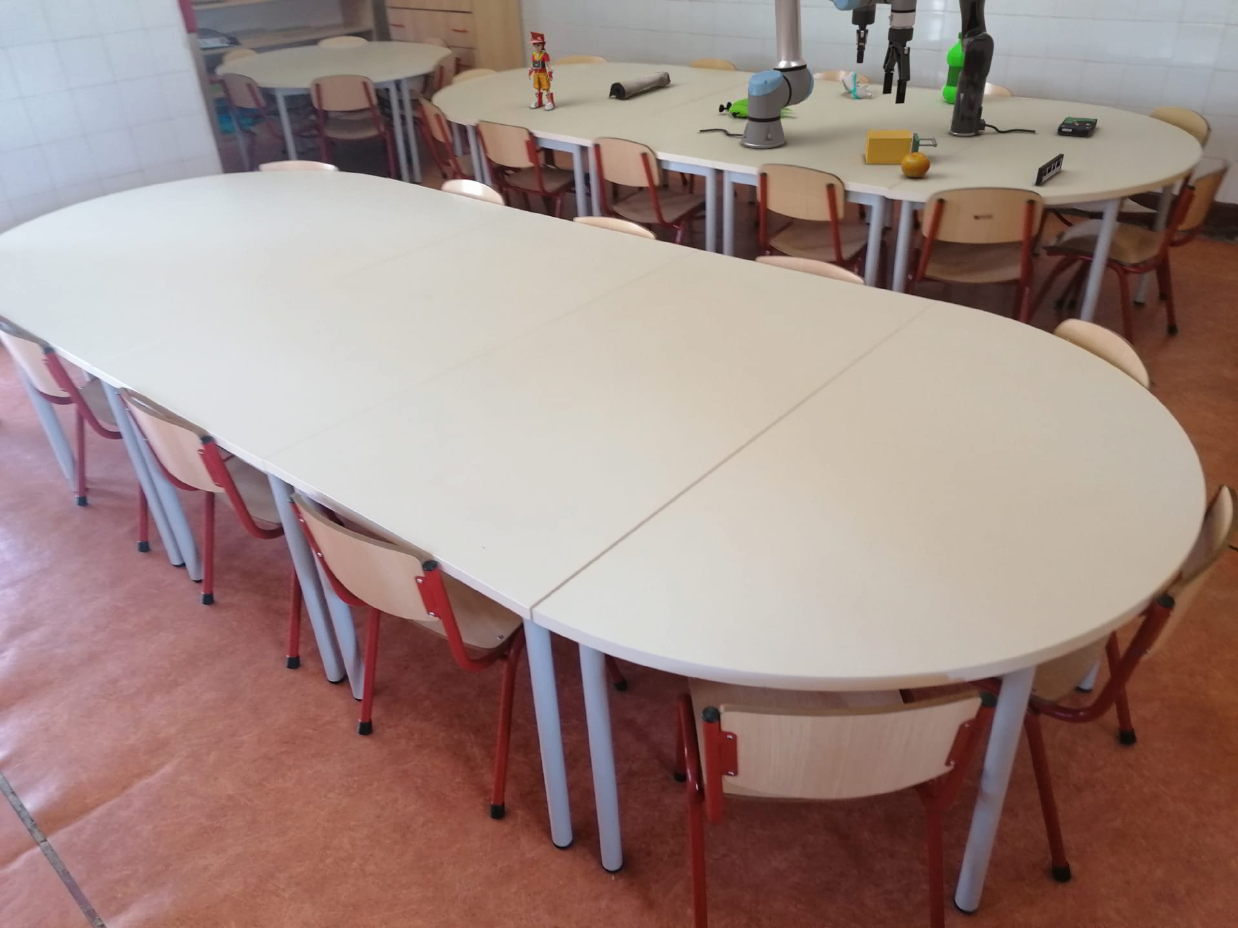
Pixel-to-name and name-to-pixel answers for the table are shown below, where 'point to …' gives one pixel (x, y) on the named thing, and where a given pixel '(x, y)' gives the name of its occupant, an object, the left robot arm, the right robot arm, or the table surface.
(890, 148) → the cabinet
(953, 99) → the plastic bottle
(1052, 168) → the midi keyboard
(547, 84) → the toy
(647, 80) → the rolled mat
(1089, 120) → the disk drive
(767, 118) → the left robot arm
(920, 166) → the fruit
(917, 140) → the drawer
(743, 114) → the toy
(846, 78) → the anatomical model
